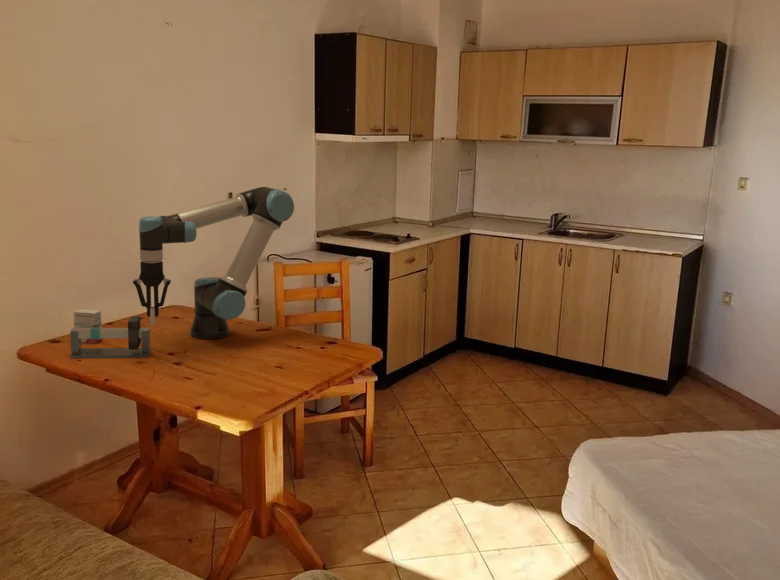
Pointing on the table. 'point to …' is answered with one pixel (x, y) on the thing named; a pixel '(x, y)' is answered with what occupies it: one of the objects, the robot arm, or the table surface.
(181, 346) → the table surface
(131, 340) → the ring collar
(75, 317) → the ink box
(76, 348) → the pipe rail
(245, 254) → the robot arm
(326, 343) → the table surface
